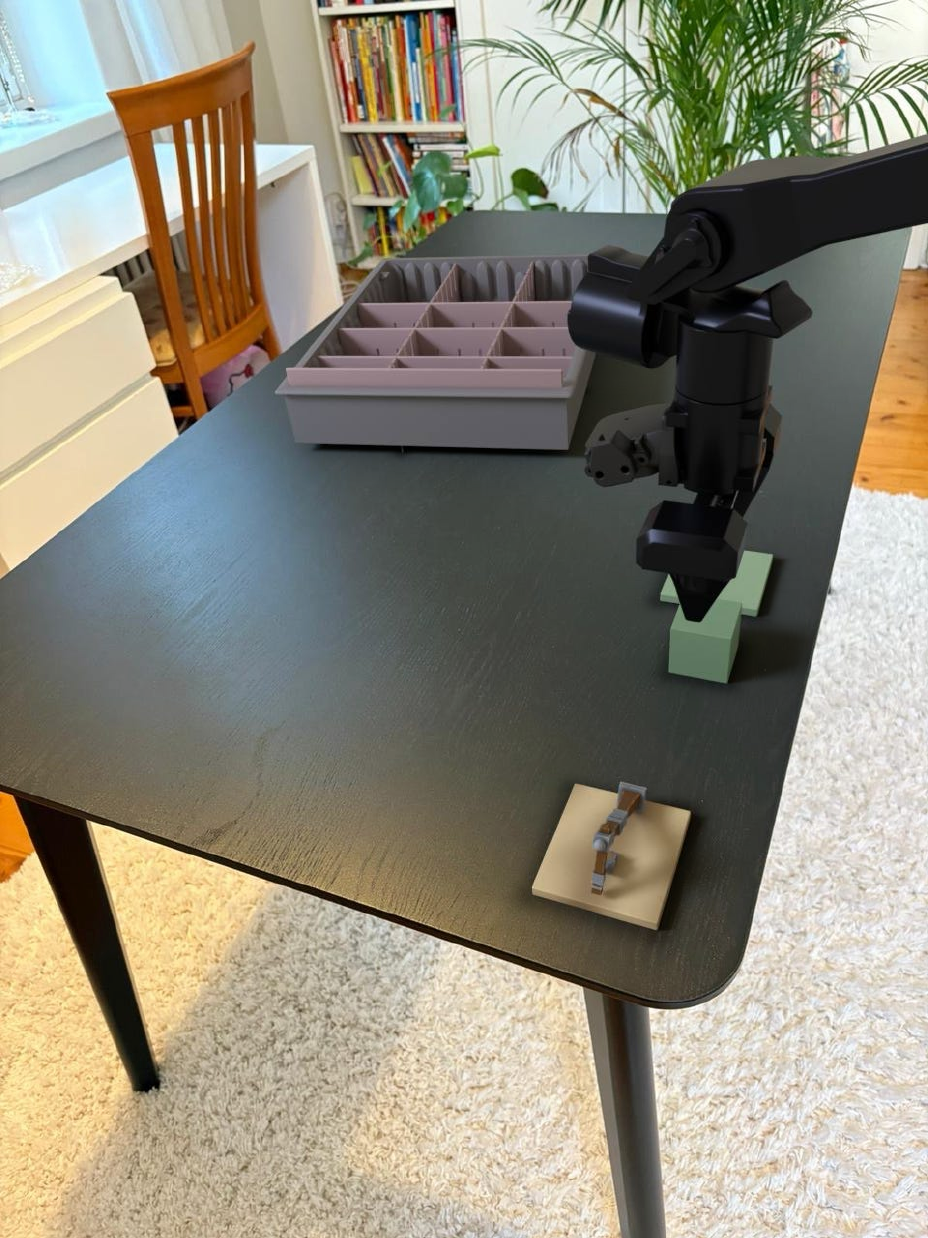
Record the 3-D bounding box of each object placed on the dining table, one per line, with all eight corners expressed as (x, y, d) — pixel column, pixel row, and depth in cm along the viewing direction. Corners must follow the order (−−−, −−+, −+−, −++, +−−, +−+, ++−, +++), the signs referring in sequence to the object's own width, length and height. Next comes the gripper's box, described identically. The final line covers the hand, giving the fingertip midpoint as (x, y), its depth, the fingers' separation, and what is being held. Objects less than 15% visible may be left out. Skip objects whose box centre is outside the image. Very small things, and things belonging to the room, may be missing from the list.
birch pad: (690, 818, 65) (691, 810, 64) (657, 931, 59) (657, 923, 58) (575, 790, 68) (575, 782, 67) (532, 895, 61) (531, 887, 61)
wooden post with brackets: (576, 897, 59) (585, 831, 58) (612, 839, 66) (620, 778, 65) (605, 906, 58) (614, 839, 57) (638, 846, 65) (647, 785, 64)
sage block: (738, 646, 77) (742, 602, 75) (726, 684, 74) (731, 639, 71) (681, 636, 79) (683, 592, 76) (668, 672, 76) (670, 628, 73)
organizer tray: (616, 312, 131) (615, 237, 125) (574, 465, 101) (571, 376, 95) (389, 314, 139) (378, 243, 132) (289, 457, 109) (269, 374, 103)
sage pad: (772, 561, 85) (773, 554, 85) (756, 617, 80) (757, 609, 79) (681, 548, 88) (682, 541, 88) (660, 601, 83) (660, 593, 82)
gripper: (633, 317, 71) (631, 500, 80) (552, 442, 58) (562, 642, 67) (793, 327, 67) (770, 518, 76) (745, 464, 54) (725, 673, 63)
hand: (706, 581), depth 71 cm, fingers open, 9 cm apart
